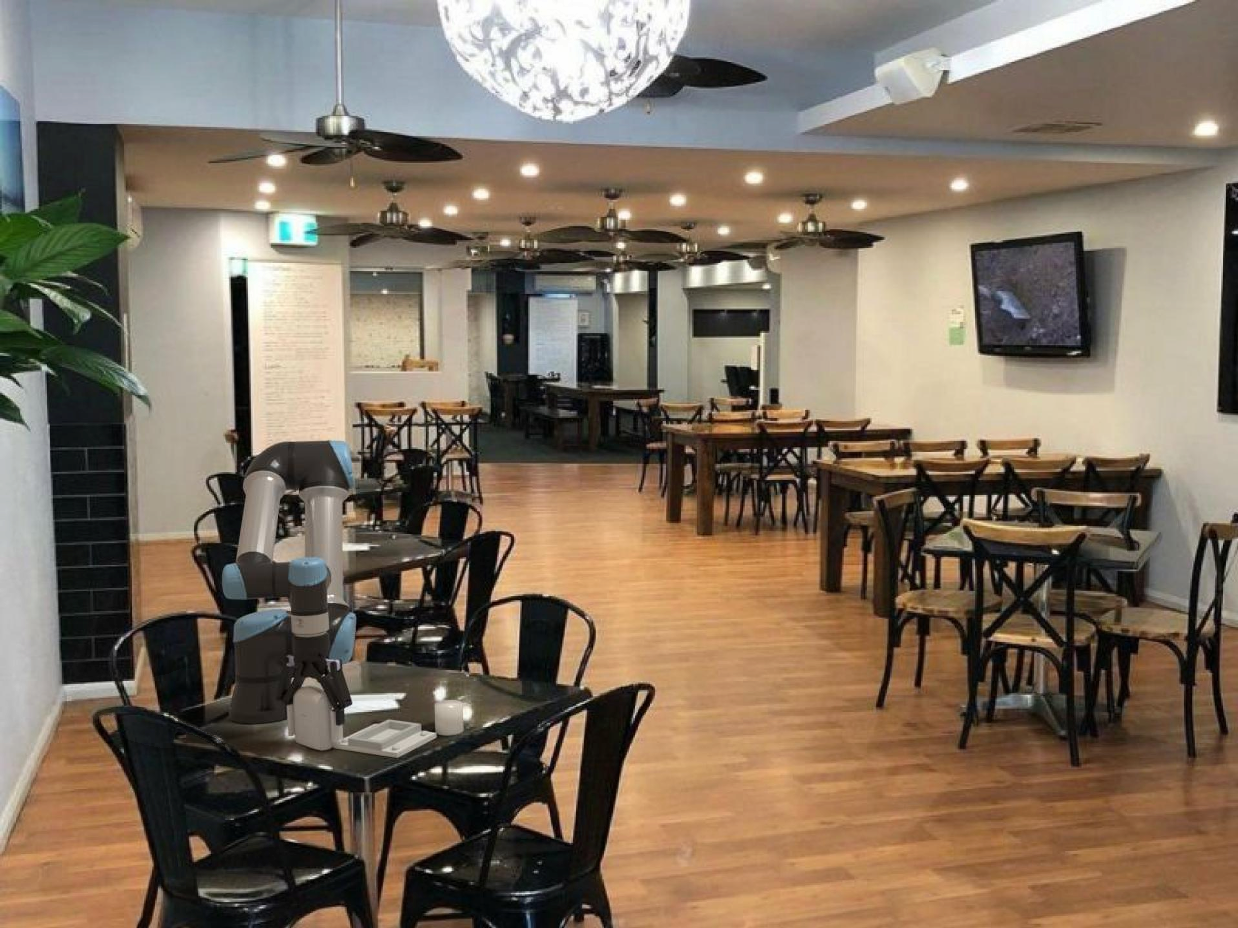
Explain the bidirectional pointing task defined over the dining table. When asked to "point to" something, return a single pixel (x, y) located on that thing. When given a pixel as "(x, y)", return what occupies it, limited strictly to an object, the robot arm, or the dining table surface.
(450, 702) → the white rounded cylinder
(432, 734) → the dock plate
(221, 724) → the dining table surface
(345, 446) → the robot arm
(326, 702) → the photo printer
